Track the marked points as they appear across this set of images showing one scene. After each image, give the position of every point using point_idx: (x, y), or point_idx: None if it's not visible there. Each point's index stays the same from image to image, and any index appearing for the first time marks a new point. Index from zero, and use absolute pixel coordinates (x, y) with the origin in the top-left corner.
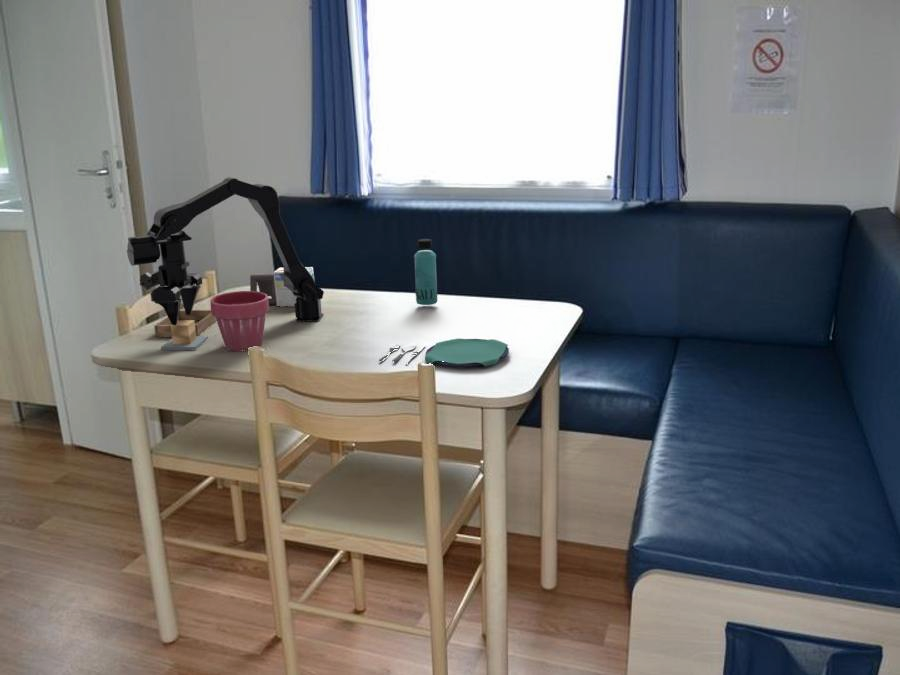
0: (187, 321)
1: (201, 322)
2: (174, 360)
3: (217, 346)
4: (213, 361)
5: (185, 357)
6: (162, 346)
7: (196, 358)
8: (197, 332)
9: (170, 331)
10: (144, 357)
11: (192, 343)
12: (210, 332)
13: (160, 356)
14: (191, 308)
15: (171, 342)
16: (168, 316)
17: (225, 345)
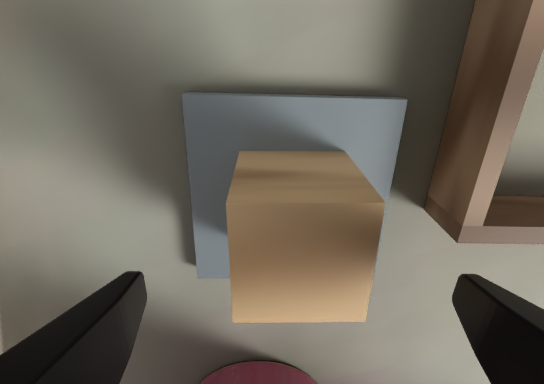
0: (336, 291)
1: (537, 242)
2: (37, 228)
3: (254, 330)
4: None
5: (90, 259)
6: (193, 100)
7: None
8: (435, 219)
9: (488, 43)
10: (36, 37)
11: None
12: (485, 243)
13: (77, 133)
14: (483, 366)
15: (274, 127)
16: (38, 336)
17: (212, 382)
